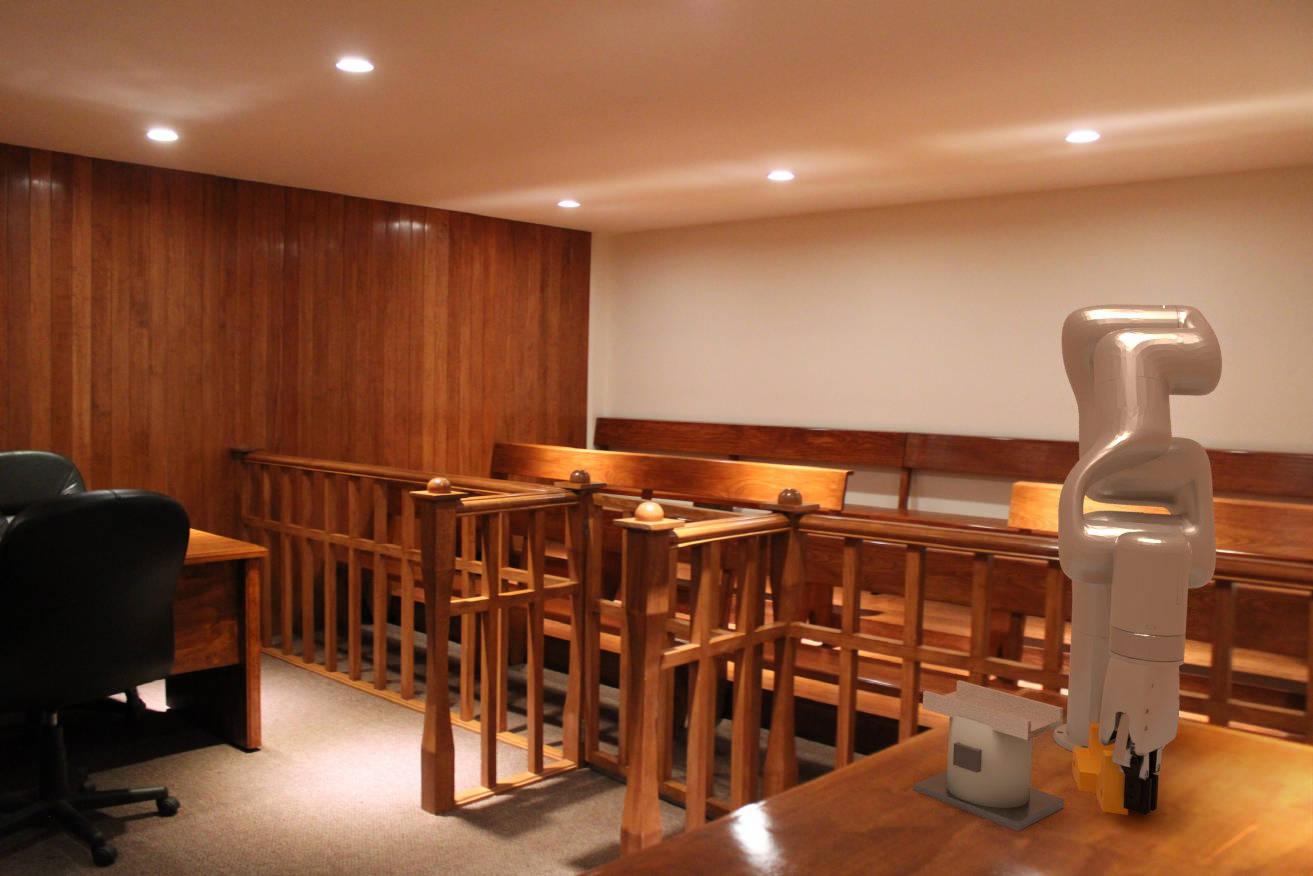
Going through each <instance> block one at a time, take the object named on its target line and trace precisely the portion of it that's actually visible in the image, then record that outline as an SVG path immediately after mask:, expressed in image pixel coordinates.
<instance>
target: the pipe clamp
mask: <svg viewBox="0 0 1313 876" xmlns="http://www.w3.org/2000/svg"><path fill="white" fill-rule="evenodd" d="M1099 727H1100V723H1089V744H1088V748H1081V747H1073V752H1072V759H1071V773H1072V775H1073V778H1074V781H1075V784H1076V786H1077V789H1078V791H1080V792H1084V793H1086V792H1087V793H1094V794H1095V795H1096V798H1097V801H1098V804H1099V806H1100V808H1101V811H1102V812H1103V813H1112V814H1118V815H1129V810H1128V809H1125V808H1123V806H1124V784H1125V774H1123V773H1120V772H1119V764H1116V763H1113V761H1112V758H1113V752H1114V747H1115V743H1113V744H1111V745H1108V746H1104V745H1102V744H1101V743H1100V741H1099Z"/></svg>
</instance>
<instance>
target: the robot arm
mask: <svg viewBox="0 0 1313 876" xmlns="http://www.w3.org/2000/svg"><path fill="white" fill-rule="evenodd" d="M1061 329H1062V330H1061V355H1062V360H1063V365H1064V371H1065V373H1066V376H1067V380H1068V382H1069V385H1070V387H1071V389H1072V392H1073V394H1074V395H1073V396H1075V397H1074V398H1075V401H1076V404H1077V409H1078V456H1079V457H1078V461H1077V462H1076V463H1075V465H1074V466H1073V467H1072V468H1071V470H1070V471H1069V473H1068V475H1067V477H1066V478H1065V480H1064V483H1063V485H1062V488H1061V489H1060V490H1061V491H1060V495H1059V500H1058V511H1057V512H1058V513H1057V514H1058V517H1057V518H1058V522H1057V524H1058V525H1057V527H1058V528H1057V529H1058V532H1057V534H1058V536H1057V537H1058V538H1057V539H1058V540H1057V541H1058V543H1057V544H1058V547H1057V549H1058V559H1059V564H1060V568H1061V570H1062V571H1063V573H1064V575H1065V576H1066V577H1068V578H1069V579H1070V580H1071V589H1072V591H1071V592H1072V596H1071V597H1072V600H1071V601H1072V603H1071V604H1072V605H1071V607H1072V608H1071V624H1070V625H1071V627H1070V628H1071V629H1070V647H1069V664H1068V665H1069V669H1068V689H1067V705H1066V706H1067V708H1066V723H1062V726H1061V727H1058V728H1056V729H1053V739H1054V742H1056V744H1057V745H1059V746H1060V747H1062V748H1063V749H1065V750H1066V751H1068V752H1072V753H1073V747H1081V748H1088V744H1089V723H1100V727H1099V741H1100V743H1101V744H1102V745H1104V746H1108V745H1111V744H1113V743H1115V747H1114V752H1113V758H1112V761H1113V763H1116V764H1119V772H1120V773H1123V774H1125V784H1124V806H1123V808H1125V809H1128V811H1132V812H1134V813H1137V814H1141V815H1144V816H1147V815H1148V814H1150V813H1151V812H1154V811H1155V810H1157V809H1158V808H1157V807H1158V796H1159V795H1158V794H1159V778H1160V777H1159V773H1160V772H1161V764H1162V755H1163V750H1164V749H1165V747H1166V746H1167V745H1168V744H1169V743H1171V742H1172V741H1174V739H1175V738H1176V737H1177V734H1178V729H1179V720H1180V719H1179V718H1180V666H1182V665H1184V664H1185V651H1186V649H1185V647H1186V634H1187V633H1186V630H1187V616H1188V613H1187V612H1188V593H1189V589H1199V588H1201V587H1204V586H1206V585H1208V584H1209V583H1210V582H1211V580H1212V578H1213V576H1214V574H1215V570H1216V565H1217V564H1216V563H1217V562H1216V561H1217V547H1216V546H1217V545H1216V543H1217V542H1216V540H1217V539H1216V527H1215V509H1214V495H1213V494H1214V493H1213V476H1212V467H1211V462H1210V458H1209V456H1208V453H1207V451H1206V449H1205V448H1204V447H1203V445H1202V444H1201V443H1200V442H1197V441H1196V440H1195V439H1194V440H1193V439H1190V438H1186V437H1181V436H1173V435H1172V420H1171V408H1170V407H1171V404H1170V396H1193V397H1194V396H1197V397H1199V396H1207V395H1210V394H1211V393H1213V392H1214V391H1215V390H1216V389H1217V387H1218V385H1219V383H1220V381H1221V376H1222V371H1223V370H1222V369H1223V358H1222V349H1221V346H1220V342H1219V339H1218V338H1217V334H1216V333H1215V331H1214V329H1213V327H1212V326H1211V324H1210V323H1209V322H1208V321H1207V319H1206V317H1205V316H1204V315H1203V313H1202V312H1201V311H1200V310H1199V309H1197V308H1195V307H1193V306H1189V305H1182V304H1181V305H1179V304H1100V305H1099V304H1096V305H1090V306H1084V307H1081V308H1078V309H1076V310H1074V311H1072V312H1071V313H1069V314H1068V315H1067V317H1066V318H1065V319H1064V322H1063V326H1062V328H1061ZM1085 497H1086V498H1088V499H1089V500H1091V501H1094V502H1096V503H1102V504H1108V505H1109V504H1110V505H1118V506H1119V505H1120V506H1121V505H1122V506H1137V507H1153V508H1163V509H1166V510H1167V511H1168V512H1169V514H1168V513H1152V512H1151V513H1150V512H1141V511H1124V510H1123V511H1122V510H1096V511H1089V512H1086V513H1084V503H1085Z"/></svg>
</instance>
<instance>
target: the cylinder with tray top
mask: <svg viewBox="0 0 1313 876" xmlns="http://www.w3.org/2000/svg"><path fill="white" fill-rule="evenodd" d="M922 709H924V710H927V711H929V712H933V713H936V714H938V715H943V716H946V717H949V718H948V719H949V722H948V747H947V769H946V770H945V771H942V772H940V773H937V774H935V775H932V776H930V777H928V778H925V779H922V780H920V781H917V782H915V783H913V785H912V787H913V788H912V790H913V791H915V792H918V793H920V794H922V795H925V796H928V797H930V798H933V799H935V800H938V801H939V802H942V803H945V804H948V805H950V804H951V805H950V806H953V807H955V806H956V807H955V808H958V809H960V810H962V809H963V811H964V812H967V811H968V813H970V812H971V813H970V814H972V813H973V814H972V815H975V816H977V815H978V816H977V817H980V818H983V819H985V820H987V821H989V822H993V823H995V824H997V825H1000V826H1002V827H1004V828H1007V829H1010V830H1013V831H1015V832H1020V831H1021V830H1023V829H1026V828H1027V827H1029V826H1032V825H1033V824H1035V823H1036V822H1038V821H1040V820H1043V819H1045V818H1047V817H1049V816H1051V815H1052V814H1054V813H1056V812H1058V811H1060V810H1062V809H1064V802H1065V799H1064V798H1062V797H1059V796H1056V795H1053V794H1050V793H1047V792H1044V791H1041V790H1039V789H1036V788H1033V787H1031V780H1032V779H1031V778H1032V759H1033V758H1032V756H1033V740H1034V739H1033V738H1036V737H1039V736H1042V735H1043V734H1046V733H1048V732H1051V731H1054V730H1055V729H1056V728H1058V727H1061V726H1062V725H1063V724H1064V723H1063V722H1064V721H1063V720H1064V718H1063V717H1064V707H1062V706H1061V707H1060V706H1056V705H1054V704H1049V703H1046V702H1043V701H1039V700H1038V701H1037V700H1035V699H1032V698H1031V699H1030V698H1028V697H1023V696H1020V695H1015V694H1012V693H1009V692H1004V691H1001V690H997V689H994V688H989V687H986V686H981V685H978V684H975V683H971V682H967V681H963V680H957V681H956V690H955V691H953V692H949V693H946V694H940V693H936V692H932V691H929V690H924V691H923V692H922Z"/></svg>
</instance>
